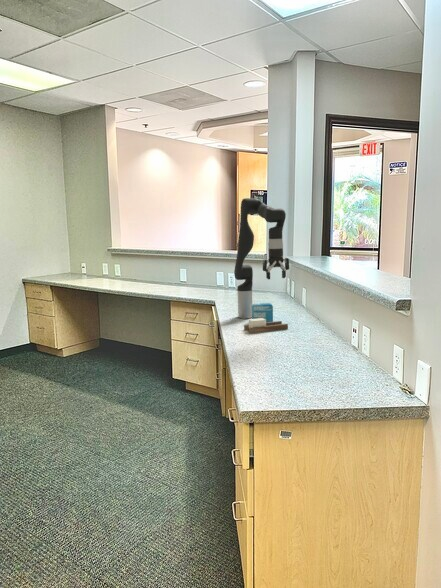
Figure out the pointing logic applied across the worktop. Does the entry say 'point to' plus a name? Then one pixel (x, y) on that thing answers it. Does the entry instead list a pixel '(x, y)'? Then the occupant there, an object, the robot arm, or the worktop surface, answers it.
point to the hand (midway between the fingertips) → (276, 278)
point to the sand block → (257, 322)
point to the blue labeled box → (263, 311)
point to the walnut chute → (267, 327)
